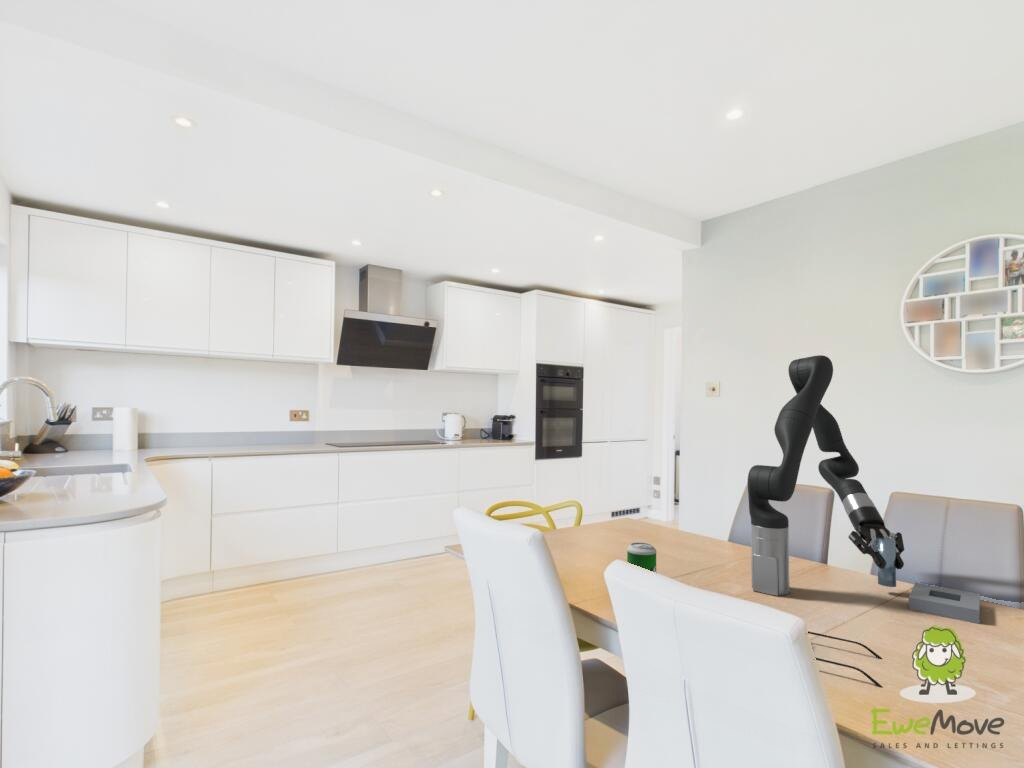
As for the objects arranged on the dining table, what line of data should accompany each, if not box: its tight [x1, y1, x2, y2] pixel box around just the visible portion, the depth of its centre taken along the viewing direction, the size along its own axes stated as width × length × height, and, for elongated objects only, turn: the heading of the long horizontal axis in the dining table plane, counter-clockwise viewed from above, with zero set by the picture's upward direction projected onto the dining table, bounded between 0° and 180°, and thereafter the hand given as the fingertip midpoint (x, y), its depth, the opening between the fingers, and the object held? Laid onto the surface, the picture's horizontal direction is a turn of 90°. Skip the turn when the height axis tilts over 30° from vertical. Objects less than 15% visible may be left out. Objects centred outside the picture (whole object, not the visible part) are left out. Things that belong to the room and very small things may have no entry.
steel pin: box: [877, 537, 897, 588], centre depth 143 cm, size 4×4×12 cm
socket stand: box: [908, 582, 981, 625], centre depth 133 cm, size 16×13×3 cm
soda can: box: [626, 541, 657, 573], centre depth 143 cm, size 8×8×12 cm
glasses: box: [807, 630, 883, 688], centre depth 103 cm, size 14×16×5 cm
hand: (891, 567), depth 141 cm, fingers closed on steel pin, 4 cm apart
